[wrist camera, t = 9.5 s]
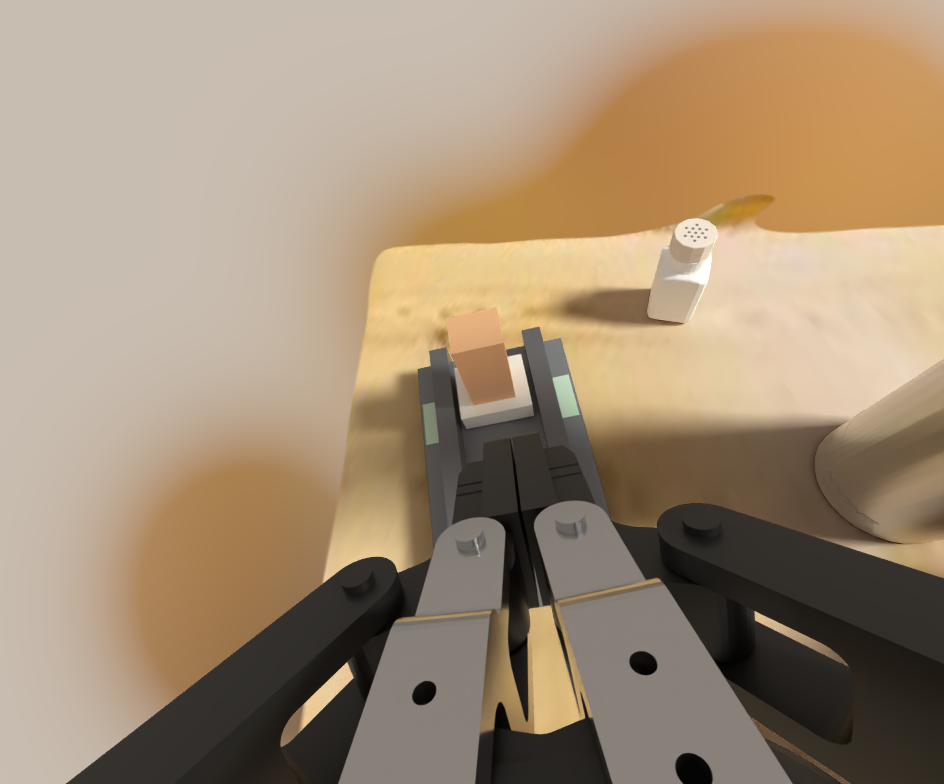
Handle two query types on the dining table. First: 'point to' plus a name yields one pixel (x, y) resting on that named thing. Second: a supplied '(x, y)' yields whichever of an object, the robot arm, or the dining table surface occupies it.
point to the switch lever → (486, 371)
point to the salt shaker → (682, 271)
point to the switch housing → (459, 446)
